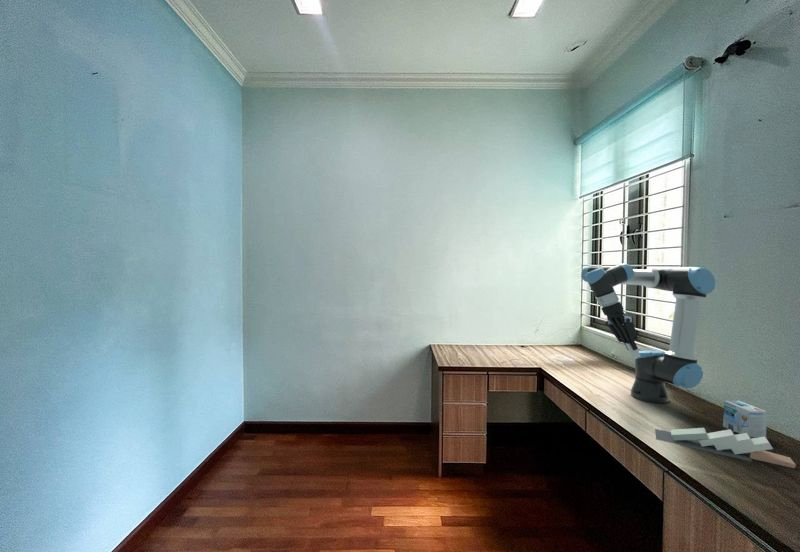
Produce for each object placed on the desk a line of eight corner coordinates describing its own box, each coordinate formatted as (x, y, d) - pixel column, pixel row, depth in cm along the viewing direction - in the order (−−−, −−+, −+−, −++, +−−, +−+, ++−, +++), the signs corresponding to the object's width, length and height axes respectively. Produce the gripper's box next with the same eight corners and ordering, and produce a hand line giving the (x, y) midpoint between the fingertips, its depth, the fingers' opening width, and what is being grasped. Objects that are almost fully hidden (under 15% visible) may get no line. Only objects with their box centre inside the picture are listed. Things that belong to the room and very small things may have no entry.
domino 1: (670, 429, 128) (704, 427, 122) (672, 435, 128) (706, 433, 122) (671, 434, 124) (706, 433, 118) (673, 440, 124) (708, 439, 118)
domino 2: (696, 435, 124) (730, 429, 118) (700, 440, 123) (734, 435, 118) (698, 440, 120) (733, 434, 114) (702, 446, 119) (737, 440, 114)
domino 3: (711, 438, 121) (746, 432, 116) (714, 444, 121) (750, 438, 116) (713, 444, 117) (750, 438, 112) (717, 450, 117) (754, 444, 112)
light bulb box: (722, 426, 137) (722, 400, 137) (739, 426, 137) (740, 400, 136) (748, 439, 126) (749, 411, 126) (767, 440, 126) (768, 411, 126)
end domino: (746, 445, 116) (789, 457, 110) (746, 451, 116) (789, 463, 111) (750, 452, 112) (795, 464, 106) (750, 458, 112) (794, 470, 107)
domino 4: (728, 442, 119) (764, 436, 114) (731, 448, 118) (768, 442, 113) (731, 448, 115) (769, 442, 110) (734, 454, 114) (773, 449, 109)
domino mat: (655, 430, 133) (655, 428, 133) (744, 450, 118) (744, 448, 118) (656, 441, 125) (656, 439, 125) (752, 464, 110) (752, 461, 110)
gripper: (591, 309, 148) (617, 360, 144) (615, 304, 136) (643, 360, 132) (605, 303, 150) (630, 354, 146) (629, 298, 138) (657, 353, 134)
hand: (636, 357), depth 139 cm, fingers closed
